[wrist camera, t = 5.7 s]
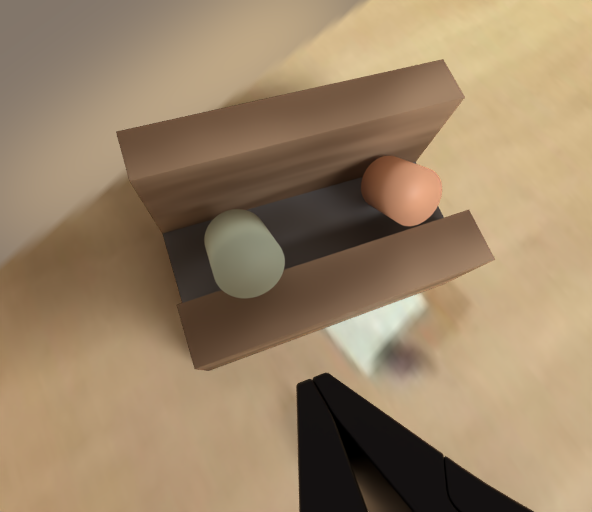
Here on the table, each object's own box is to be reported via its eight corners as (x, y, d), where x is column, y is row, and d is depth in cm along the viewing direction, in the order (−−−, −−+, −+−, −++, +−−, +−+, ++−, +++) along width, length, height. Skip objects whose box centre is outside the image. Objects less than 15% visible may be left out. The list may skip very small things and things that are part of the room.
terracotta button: (423, 231, 22) (463, 198, 18) (377, 246, 21) (407, 216, 17) (393, 170, 23) (424, 125, 19) (349, 182, 22) (370, 139, 18)
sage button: (286, 295, 18) (295, 272, 14) (227, 315, 18) (219, 297, 14) (258, 219, 19) (260, 179, 15) (202, 236, 19) (188, 198, 15)
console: (444, 283, 25) (544, 235, 16) (208, 370, 21) (180, 367, 13) (383, 158, 27) (443, 59, 19) (164, 218, 24) (115, 131, 15)
